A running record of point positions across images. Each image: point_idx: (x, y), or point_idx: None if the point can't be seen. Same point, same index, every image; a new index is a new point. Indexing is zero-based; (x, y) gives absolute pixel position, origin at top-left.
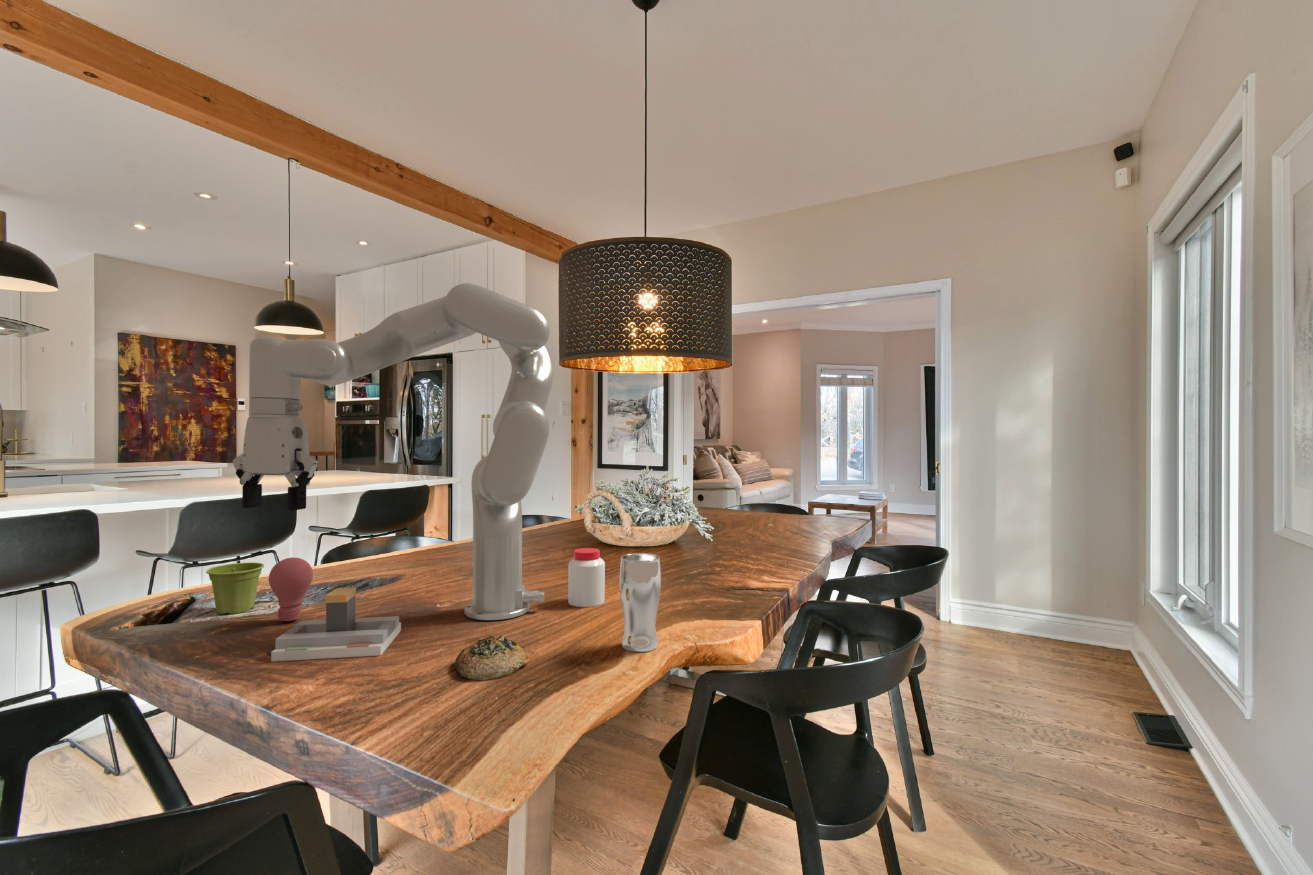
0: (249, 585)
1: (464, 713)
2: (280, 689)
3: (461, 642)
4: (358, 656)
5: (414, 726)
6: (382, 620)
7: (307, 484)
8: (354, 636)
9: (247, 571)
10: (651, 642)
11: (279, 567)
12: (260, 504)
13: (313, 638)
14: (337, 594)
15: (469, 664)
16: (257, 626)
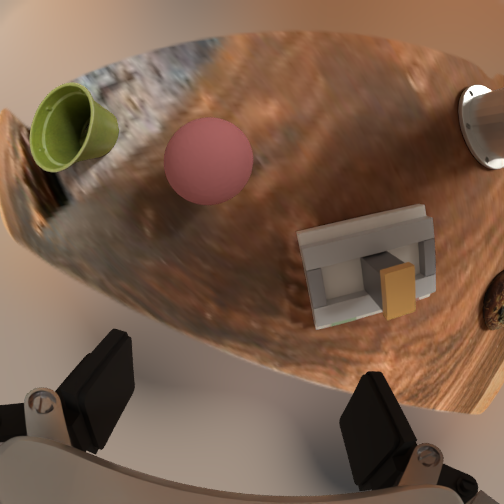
0: (101, 130)
1: (482, 368)
2: (363, 374)
3: (482, 244)
4: None
5: (459, 387)
6: (419, 238)
7: (429, 454)
8: None
9: (89, 138)
10: None
11: (198, 196)
12: (128, 343)
13: (361, 314)
14: (402, 310)
15: (495, 328)
16: None
